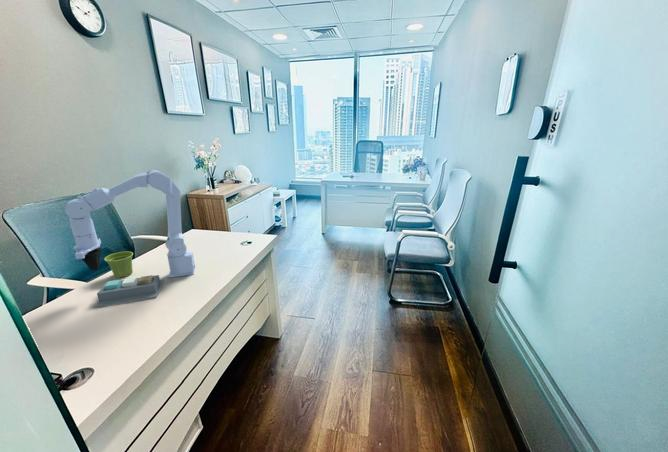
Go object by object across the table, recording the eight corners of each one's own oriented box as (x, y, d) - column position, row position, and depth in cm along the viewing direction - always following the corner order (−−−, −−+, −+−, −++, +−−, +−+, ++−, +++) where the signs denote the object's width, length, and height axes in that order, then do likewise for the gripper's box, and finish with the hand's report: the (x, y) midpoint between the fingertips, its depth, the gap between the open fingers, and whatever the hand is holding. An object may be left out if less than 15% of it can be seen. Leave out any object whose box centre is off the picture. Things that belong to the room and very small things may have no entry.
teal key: (122, 287, 98) (120, 279, 97) (119, 292, 95) (116, 284, 94) (110, 289, 97) (108, 281, 96) (106, 294, 94) (104, 286, 93)
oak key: (153, 283, 102) (151, 275, 101) (151, 287, 99) (149, 279, 98) (142, 284, 101) (140, 276, 100) (140, 289, 98) (138, 281, 97)
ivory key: (138, 285, 100) (136, 277, 99) (135, 290, 97) (133, 281, 96) (126, 287, 99) (124, 279, 98) (123, 292, 96) (121, 283, 95)
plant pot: (122, 281, 106) (117, 261, 104) (103, 278, 108) (98, 259, 105) (142, 270, 115) (138, 252, 112) (124, 268, 117) (120, 250, 114)
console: (163, 280, 108) (161, 272, 106) (156, 297, 96) (154, 288, 95) (109, 288, 101) (106, 279, 100) (94, 307, 90) (91, 297, 88)
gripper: (80, 228, 96) (89, 262, 100) (58, 242, 83) (70, 280, 87) (104, 226, 98) (112, 259, 103) (86, 240, 86) (97, 277, 90)
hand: (94, 269), depth 95 cm, fingers closed
